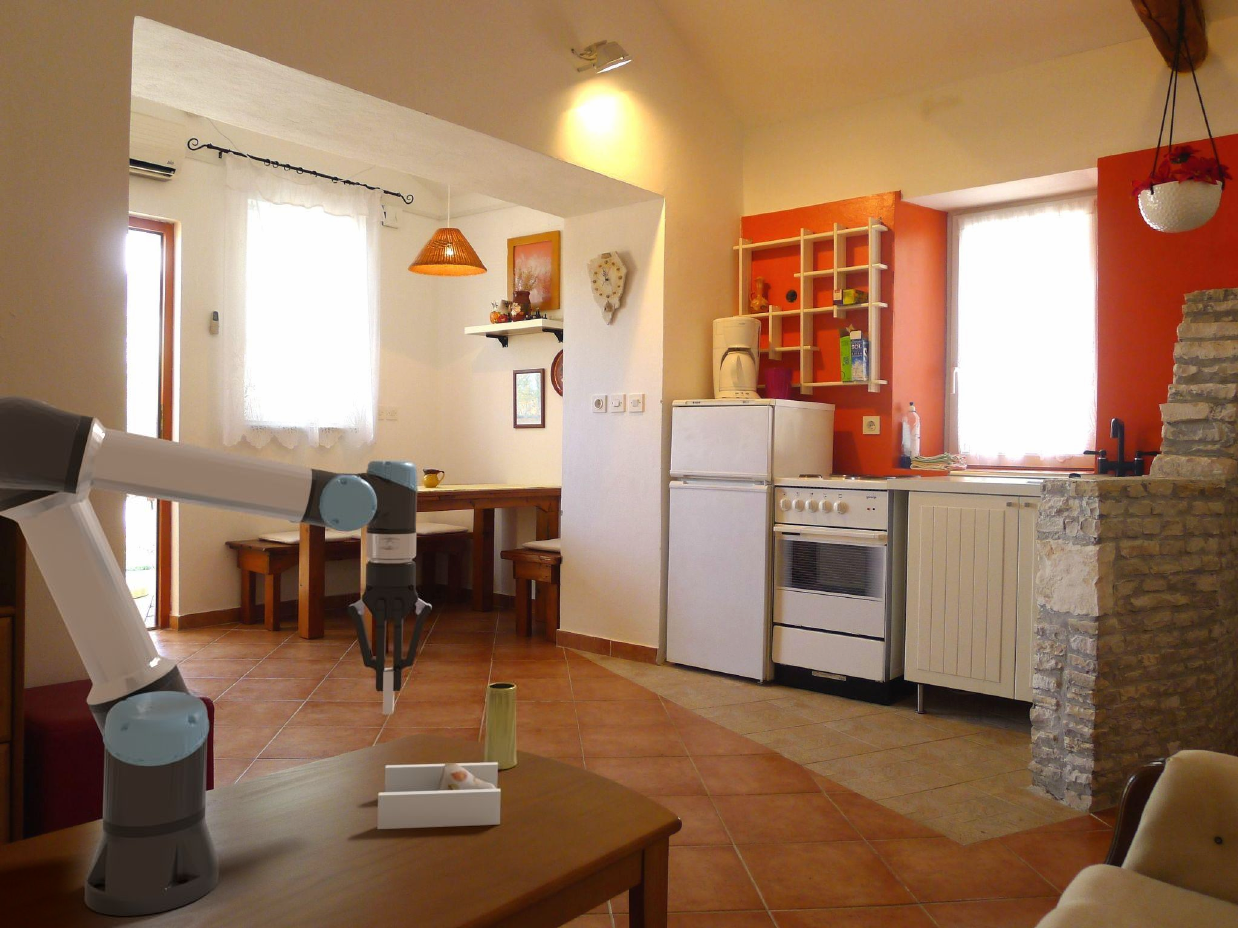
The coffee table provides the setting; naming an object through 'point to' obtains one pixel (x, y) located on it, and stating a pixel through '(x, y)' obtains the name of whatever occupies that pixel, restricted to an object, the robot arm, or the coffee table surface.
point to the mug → (460, 779)
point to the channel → (436, 798)
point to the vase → (501, 725)
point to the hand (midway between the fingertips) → (388, 711)
